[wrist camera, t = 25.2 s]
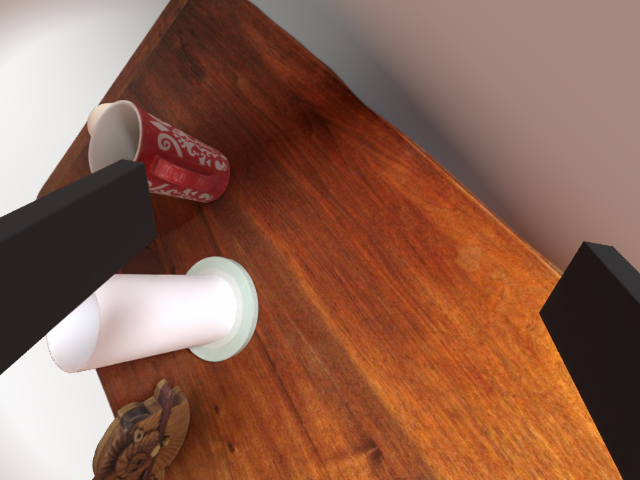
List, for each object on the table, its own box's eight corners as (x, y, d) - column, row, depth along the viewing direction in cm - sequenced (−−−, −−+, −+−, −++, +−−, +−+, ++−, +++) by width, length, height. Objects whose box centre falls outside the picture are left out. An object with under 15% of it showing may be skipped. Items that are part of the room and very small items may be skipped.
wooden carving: (174, 499, 44) (93, 554, 35) (152, 478, 46) (71, 525, 38) (209, 379, 44) (136, 404, 35) (185, 363, 46) (111, 383, 37)
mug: (177, 192, 50) (76, 165, 38) (204, 135, 48) (108, 88, 37) (234, 234, 44) (136, 217, 32) (265, 170, 43) (176, 128, 31)
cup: (178, 314, 46) (35, 330, 32) (206, 262, 44) (70, 255, 30) (215, 356, 42) (72, 395, 28) (247, 301, 41) (114, 313, 27)
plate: (200, 242, 47) (193, 241, 46) (272, 280, 41) (267, 280, 40) (170, 330, 48) (163, 331, 47) (236, 380, 42) (230, 382, 41)
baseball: (115, 133, 58) (72, 117, 52) (142, 106, 56) (100, 86, 50) (125, 165, 56) (81, 152, 50) (153, 139, 54) (110, 122, 48)
